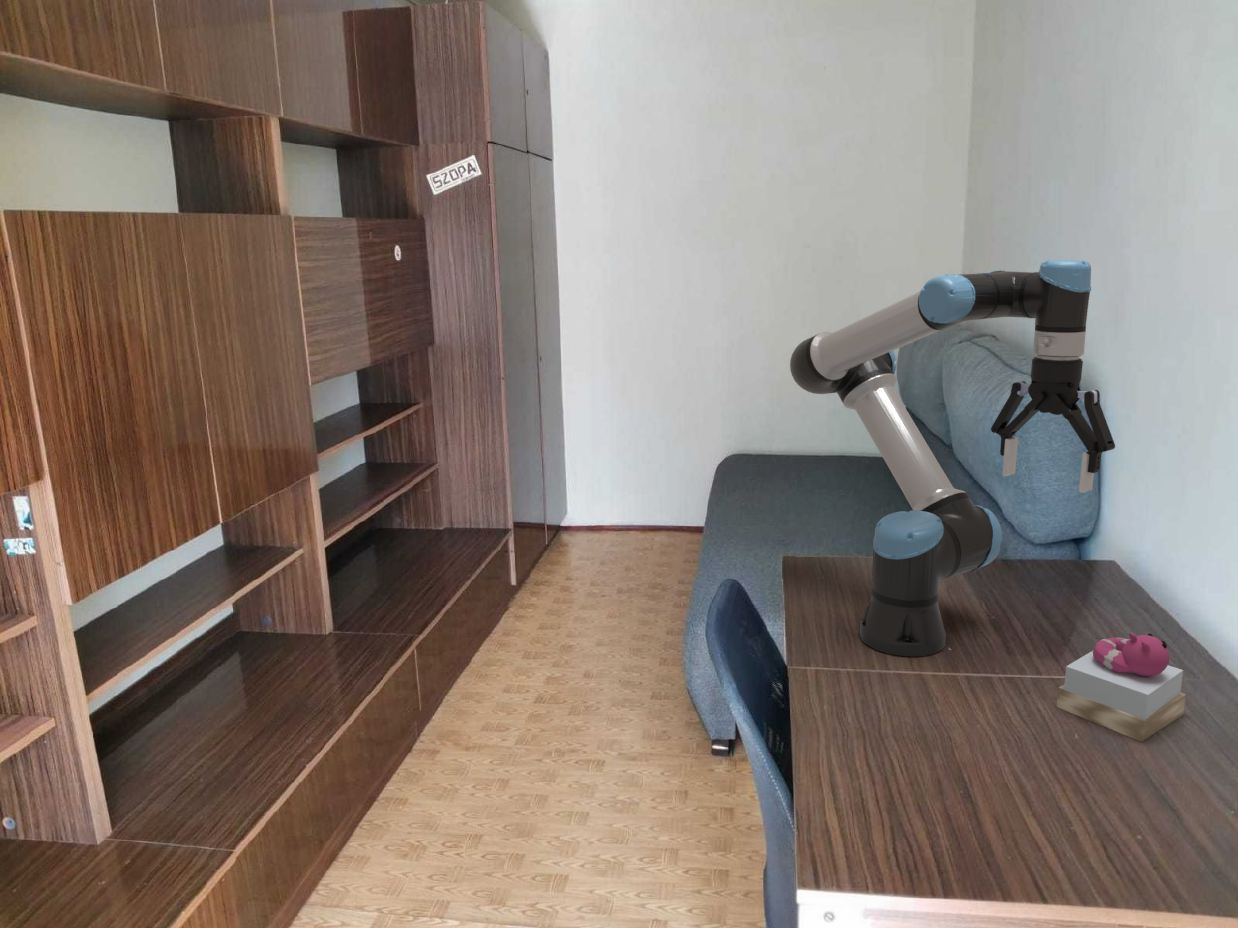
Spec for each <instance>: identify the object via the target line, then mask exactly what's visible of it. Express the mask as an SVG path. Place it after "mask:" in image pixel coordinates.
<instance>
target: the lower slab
mask: <svg viewBox="0 0 1238 928" xmlns="http://www.w3.org/2000/svg"><path fill="white" fill-rule="evenodd" d="M1057 688H1058V689H1057V690H1058V692H1057V699H1056V707H1057V708H1059V709H1061V710H1063V711H1066V712H1068V713H1071V714H1073V715H1076V716H1078V717H1080V718H1083V719H1085V720H1086V721H1087V720H1088V721H1090V722H1092V723H1095V724H1097V725H1100V726H1102V727H1105V728H1107V729H1109V730H1112V731H1114V732H1115V733H1116V732H1117V733H1119V734H1121V735H1124V736H1126V737H1129V738H1131V739H1133V740H1136V741H1138V742H1141V743H1142V742H1144V741H1145V740H1147V739H1149V738H1150V737H1152V736H1153V735H1155V734H1156V733H1157V732H1159V731H1161V730H1162V729H1164V728H1165V727H1166V726H1168V725H1170V724H1171V723H1173V722H1174V721H1176V720H1177V719H1179V718H1181V717H1182V716H1183V715H1184V713H1185V707H1186V706H1185V705H1186V697H1187V694H1186V693H1184V692H1181V691H1180V694H1179V695H1178V696H1177V697H1175V698H1174V699H1173V700H1171V701H1170V702H1169V703H1167V704H1166V705H1164V706H1163V707H1162V708H1160V709H1159V710H1158V711H1156V712H1155V713H1154V714H1152V715H1151V716H1150V717H1148V718H1147V719H1146V720H1144V719H1141V718H1139V717H1136V716H1133V715H1131V714H1128V713H1125V712H1122V711H1120V710H1117V709H1114V708H1112V707H1109V706H1106V705H1103V704H1101V703H1098V702H1095V701H1093V700H1090V699H1087V698H1084V697H1082V696H1079V695H1076V694H1074V693H1071V692H1068V691H1066V690H1064V684H1062V685H1060V686H1058V687H1057Z"/></svg>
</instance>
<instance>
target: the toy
mask: <svg viewBox="0 0 1238 928" xmlns="http://www.w3.org/2000/svg"><path fill="white" fill-rule="evenodd" d="M1128 635H1129V638H1125V637H1124V638H1123V637H1108V638H1103V639H1101V640H1099V641H1098V642H1096V644H1095V645H1094V647H1093V650H1092V651H1093V657H1094V658H1095V659H1096V660H1097V661H1098V662H1100V663H1101V664H1102V665H1103V666H1105V667H1106V668H1108V669H1110V670H1112V671H1114V672H1118V673H1124V672H1134V673H1136V674H1138V675H1141V676H1155V675H1158V674H1160V673H1161V672H1163V671H1164V670H1165V669H1166V667H1167V666H1168V665H1169V662H1170V653H1169V650H1168V648H1167V647H1168V645H1167V643H1166V641H1165V640H1160V639H1158V638H1157V637H1155V636H1154V635H1153V633H1148V634H1139V635H1135V634H1134V632H1129V634H1128Z"/></svg>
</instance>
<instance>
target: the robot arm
mask: <svg viewBox="0 0 1238 928" xmlns="http://www.w3.org/2000/svg"><path fill="white" fill-rule="evenodd" d="M1091 265H1092V264H1091V263H1090V262H1089V261H1087V260H1085V259H1048V260H1044V261H1042V262H1041V263H1040V266H1039V270H1038V271H1035V272H1027V271H1006V270H1002V269H1001V270H991V271H984V272H981V273H961V274H958V273H957V274H955V273H954V274H952V273H949V274H948V273H947V274H944V275H940V276H934V277H932V278H931V279H929V280H928V281H926V282H925V283H924V285H923V287H922V288H921V289H920V291H918V292H915V293H914V294H912V295H910V296H908V297H905V298H903V299H901V300H898V301H897V302H894V303H892V304H890V305H888V306H887V307H884V308H882V309H880V310H877V311H876V312H874V313H872V314H870V315H867V316H866V317H863V318H861V319H858V320H857V321H855V322H853V323H850V324H848V325H847V326H844V327H842V328H840V329H838V330H836V331H834V332H831V331H822V332H820V333H818V334H815V335H814V336H813V335H812V336H811V337H809V338H807V339H805V340H803V341H802V342H799V344H798V345H797V346H796V347H795V348H794V350H793V352H792V354H791V357H790V359H789V360H790V361H789V362H790V363H789V368H790V369H789V370H790V373H791V377H792V378H793V380H794V382H795V383H796V384H797V386H799V387H800V388H801V389H803V391H806V392H808V393H812V394H816V395H825V394H837V395H838V397H839V399H840V401H841V403H842V404H843V406H844V407H845V408H847V409H849V410H855V411H856V413H857V415H858V416H859V418H860V420H861V422H862V423H863V425H864V427H865V429H866V430H867V432H868V434H869V435H870V437H871V438H870V439H872V441H873V443H874V444H875V446H876V448H877V450H878V451H879V453H880V455H881V457H882V458H883V460H884V462H885V464H886V465H887V467H888V468H889V471H890V472H891V474H892V476H893V477H894V479H895V481H896V483H897V485H898V487H899V488H900V489H901V491H902V493H903V495H904V497H905V499H906V501H907V502H908V504H909V505H910V507H911V508H912V510H909V511H905V510H901V511H897V512H892V513H889V514H887V515H885V516H883V517H882V518H881V519H880V520H878V522H877V524H876V525H875V528H874V537H873V541H872V546H873V548H872V549H873V552H872V577H871V578H872V579H871V580H872V581H871V582H872V583H871V597H870V600H869V603H868V605H867V607H866V609H865V611H864V613H863V616H862V619H861V622H860V628H859V637H860V639H861V641H862V642H863V643H864V644H865V645H867V646H868V647H870V648H872V649H874V650H876V651H878V652H882V653H885V654H888V655H894V656H900V657H925V656H930V655H934V654H937V653H939V652H940V651H943V649H945V646H946V636H947V633H946V628H945V626H944V622H943V619H942V615H941V614H942V613H941V611H940V606H939V589H940V581H941V580H944V579H948V578H952V577H954V576H959V575H961V574H962V575H963V574H964V573H970V572H974V571H977V570H979V569H981V568H983V567H985V566H987V565H989V564H991V563H992V562H993V561H994V560H995V559H996V558H997V556H998V554H999V552H1000V550H1001V543H1002V542H1003V532H1002V528H1001V524H1000V522H999V519H998V518H997V516H996V515H995V514H994V512H993V511H991V510H990V509H989V508H986V507H983V506H981V505H978V504H975V505H974V503H973V501H972V500H971V498H970V496H969V495H968V493H967V491H965V490H961V489H957V488H954V486H953V484H952V483H951V482H950V479H949V478H948V476H947V474H946V473H945V471H944V470H943V468H942V467H941V465H940V463H939V462H938V460H937V458H936V457H935V454H934V453H933V451H932V449H931V447H929V445H928V443H927V442H926V440H925V438H924V436H923V435H922V433H921V432H920V430H919V428H918V427H917V425H916V423H915V422H914V420H913V418H912V417H911V415H910V413H909V412H908V410H907V407H905V405H904V403H903V402H902V400H901V398H900V396H899V395H898V393H897V392H896V390H895V386H896V382H897V377H896V375H895V374H896V371H897V370H896V368H897V364H895V361H897V358H896V354H895V350H897V349H900V348H902V347H904V346H906V345H909V344H911V343H915V342H917V341H919V340H920V339H923V338H926V337H928V336H930V335H931V336H932V335H934V334H935V333H938V332H940V331H943V330H945V329H948V328H950V327H952V326H955V325H957V324H960V323H964V322H967V321H975V320H986V319H998V318H1023V319H1024V318H1026V319H1034V320H1035V321H1034V325H1035V326H1034V336H1033V337H1034V338H1033V346H1032V347H1033V348H1032V353H1033V354H1034V355H1035V357H1033V358H1032V359H1031V368H1030V370H1031V371H1030V379H1031V381H1030V384H1029V383H1027V382H1026V381H1025V380H1022V381H1016V382H1013V383H1012V385H1011V389H1010V395H1009V397H1008V398H1007V400H1006V402H1005V403H1004V405H1003V407H1002V408H1001V410H1000V412H999V413H998V415H997V417H996V419H995V420H994V422H993V424H992V426H991V427H990V431H991V432H992V434H997V435H999V436H1000V449H999V453H1000V456H1003V462H1002V472H1001V473H1002V477H1008V476H1009V477H1010V476H1013V475H1015V474H1016V469H1017V455H1018V447H1019V437H1016V435H1017V434H1016V433H1018V431H1019V430H1021V429H1022V428H1023V427H1024V426H1025V425H1026V424H1027V423H1028V422H1029V421H1030V420H1031V418H1033V417H1034V416H1035V415H1036V414H1037V413H1038V412H1040V413H1042V414H1048V413H1050V414H1052V415H1054V416H1055V415H1056V416H1060V415H1062V417H1063V418H1065V420H1067V421H1068V422H1069V425H1070V426H1071V427H1072V429H1073V430H1074V432H1075V433H1076V435H1077V437H1078V438H1079V439H1080V441H1081V442H1082V444H1083V446H1084V447H1085V449H1086V450H1087V451H1085V452H1083V453H1082V456H1081V467H1080V477H1079V487H1078V493H1082V494H1084V493H1085V494H1086V493H1088V492H1091V491H1093V487H1094V486H1093V485H1094V476H1095V473H1098V472H1099V471H1100V468H1101V461H1102V454H1103V453H1104V452H1105V453H1106V452H1108V451H1112V450H1114V449H1115V448H1116V443H1115V441H1114V438H1113V435H1112V433H1111V431H1110V427H1109V425H1108V422H1107V419H1106V418H1105V414H1104V411H1103V409H1102V407H1101V403H1100V401H1101V399H1100V396H1101V395H1100V391H1099V390H1098V389H1094V390H1093V389H1091V390H1086V391H1085V390H1084V391H1083V390H1081V386H1080V383H1081V381H1082V373H1083V366H1084V365H1083V364H1084V361H1083V360H1082V358H1080V357H1082V356H1083V355H1085V346H1086V342H1085V341H1086V333H1087V332H1086V331H1087V330H1086V329H1087V321H1088V310H1089V301H1090V297H1091V296H1090V295H1091V294H1090V293H1091V291H1092V286H1091V284H1092V283H1091V281H1092V266H1091ZM1027 394H1028V395H1029V397H1030V398H1031V400H1030V401H1029V402H1028V403H1027V404H1026V405H1025V406H1024V407H1023V409H1022V411H1021V412H1019V414H1017V416H1015V418H1013V416H1014V415H1015V413H1016V411H1017V410H1018V408H1019V406H1020V405H1021V403H1022V401H1023V399H1024V397H1025V396H1027ZM1079 400H1081V401H1080V402H1081V403H1082V404H1083V405H1084V409H1085V412H1086V416H1087V418H1088V421H1089V423H1090V424H1089V423H1088V421H1087V420H1086V419H1085V417H1084V415H1083V414H1082V410H1081V408H1080V406H1079V405H1078V404H1077V402H1078V401H1079ZM1012 418H1013V420H1012Z"/></svg>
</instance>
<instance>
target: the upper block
mask: <svg viewBox="0 0 1238 928" xmlns="http://www.w3.org/2000/svg"><path fill="white" fill-rule="evenodd" d="M1183 675H1184V670H1183V669H1181V668H1177V667H1174V666H1172V665H1169V664H1168V666H1167V667H1166V669H1165V670H1164V671H1163V672H1161V673H1160V674H1158V675H1155V676H1141V675H1138V674H1136V673H1134V672H1124V673H1118V672H1114V671H1112V670H1110V669H1108V668H1106V667H1105V666H1103V665H1102V664H1101V663H1100V662H1098V661H1097V660H1096V659H1095V658H1094V657H1093V650H1092V651H1090V652H1088V653H1085V655H1083V656H1081V657H1079V658H1078V659H1076V660H1075V661H1072V662H1070V664H1068V665H1066V666H1065V676H1064V684H1063V685H1064V690H1066V691H1068V692H1071V693H1074V694H1076V695H1079V696H1082V697H1084V698H1087V699H1090V700H1093V701H1095V702H1098V703H1101V704H1103V705H1106V706H1109V707H1112V708H1114V709H1117V710H1120V711H1122V712H1125V713H1128V714H1131V715H1133V716H1136V717H1139V718H1141V719H1144V720H1146V719H1147V718H1148V717H1150V716H1151V715H1152V714H1154V713H1155V712H1156V711H1158V710H1159V709H1160V708H1162V707H1163V706H1164V705H1166V704H1167V703H1169V702H1170V701H1171V700H1173V699H1174V698H1175V697H1177V696H1178V695H1179V694H1180V692H1181V691H1182V682H1183V677H1184V676H1183Z"/></svg>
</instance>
